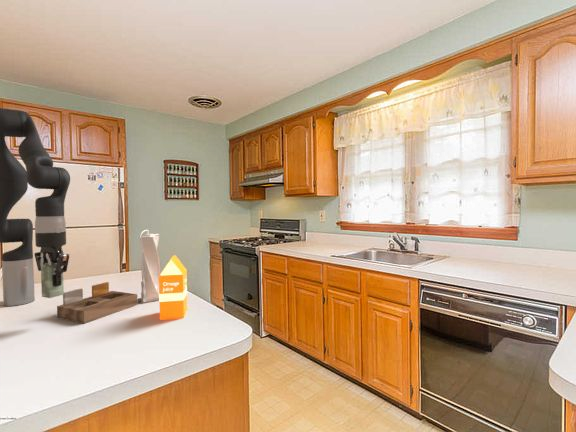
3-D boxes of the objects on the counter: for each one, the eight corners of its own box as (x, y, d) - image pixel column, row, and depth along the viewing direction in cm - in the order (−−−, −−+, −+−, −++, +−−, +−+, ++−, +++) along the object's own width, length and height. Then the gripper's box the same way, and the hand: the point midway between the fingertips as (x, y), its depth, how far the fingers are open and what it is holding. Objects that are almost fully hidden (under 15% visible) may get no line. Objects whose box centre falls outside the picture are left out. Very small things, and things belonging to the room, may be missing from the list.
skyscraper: (137, 298, 122) (135, 230, 121) (158, 295, 127) (156, 229, 126) (141, 303, 115) (140, 231, 115) (163, 299, 120) (162, 230, 119)
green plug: (41, 296, 93) (40, 264, 93) (56, 293, 97) (54, 262, 96) (49, 298, 91) (48, 265, 91) (63, 294, 95) (62, 263, 95)
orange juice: (159, 320, 98) (157, 259, 98) (164, 311, 107) (163, 255, 106) (184, 318, 100) (183, 258, 99) (187, 309, 108) (186, 254, 108)
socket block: (57, 317, 101) (56, 294, 101) (112, 300, 120) (111, 280, 120) (84, 323, 96) (83, 298, 96) (137, 304, 114) (137, 283, 114)
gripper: (23, 231, 93) (25, 286, 93) (51, 232, 87) (53, 291, 88) (50, 229, 99) (51, 280, 100) (78, 230, 94) (79, 284, 95)
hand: (52, 285), depth 94 cm, fingers closed on green plug, 4 cm apart
